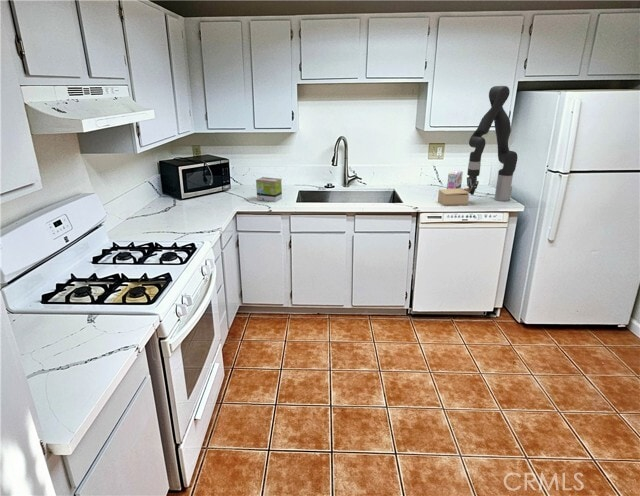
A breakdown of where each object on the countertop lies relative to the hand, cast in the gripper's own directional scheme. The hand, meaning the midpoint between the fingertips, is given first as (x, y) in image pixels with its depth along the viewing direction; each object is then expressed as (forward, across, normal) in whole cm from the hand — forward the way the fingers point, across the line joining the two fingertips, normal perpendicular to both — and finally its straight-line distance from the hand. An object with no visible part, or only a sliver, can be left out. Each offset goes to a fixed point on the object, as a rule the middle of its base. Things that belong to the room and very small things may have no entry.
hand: (470, 193), depth 274 cm
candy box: (+6, +22, +3) cm, 23 cm away
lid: (-2, 0, +9) cm, 9 cm away
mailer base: (+6, 0, +12) cm, 14 cm away
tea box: (+5, +22, +135) cm, 137 cm away
